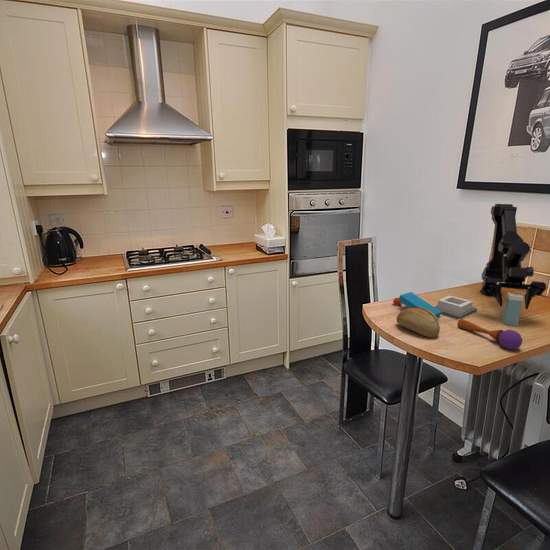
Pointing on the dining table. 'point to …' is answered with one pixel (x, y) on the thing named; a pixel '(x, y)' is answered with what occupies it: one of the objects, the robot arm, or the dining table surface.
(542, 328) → the dining table surface
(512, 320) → the box with white lid
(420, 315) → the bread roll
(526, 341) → the dining table surface
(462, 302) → the board
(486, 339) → the dining table surface
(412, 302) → the blue long block
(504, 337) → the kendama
